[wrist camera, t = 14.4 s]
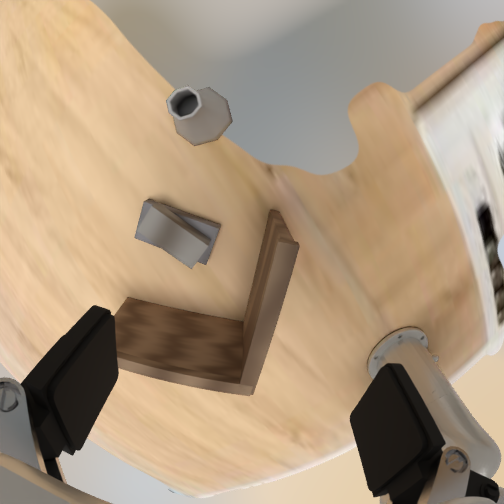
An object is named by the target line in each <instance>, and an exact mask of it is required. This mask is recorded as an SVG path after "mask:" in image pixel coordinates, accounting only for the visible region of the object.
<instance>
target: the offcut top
mask: <svg viewBox="0 0 504 504" xmlns="http://www.w3.org/2000/svg"><path fill="white" fill-rule="evenodd" d="M137 231H138V232H139V233H141V234H142V235H144V236H145V237H146V238H148V239H149V240H151V241H152V242H153V243H155V244H156V245H158V246H159V247H160V248H162V249H163V250H165V251H166V252H167V253H169V254H170V255H172V256H173V257H175V258H176V259H178V260H179V261H180V262H182V263H183V264H185V265H186V266H188V267H189V268H191V269H192V268H193V266H194V265H195V264H196V262H197V261H198V260H199V258H200V257H201V255H202V254H203V253H204V251H205V250H206V249H207V247H208V246H209V243H210V241H211V239H209V238H208V237H207V236H205V235H204V234H202V233H201V232H200V231H198V230H197V229H195V228H194V227H192V226H191V225H190V224H188V223H187V222H185V221H184V220H183V219H181V218H180V217H178V216H177V215H175V214H174V213H173V212H171V211H170V210H168V209H167V208H166V207H164V206H163V205H161V204H160V203H159V202H157V203H156V204H154V205H152V206H151V208H150V209H149V211H148V213H147V214H146V216H145V218H144V219H143V221H142V223H141V225H140V226H139V228H138V230H137Z"/></svg>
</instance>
